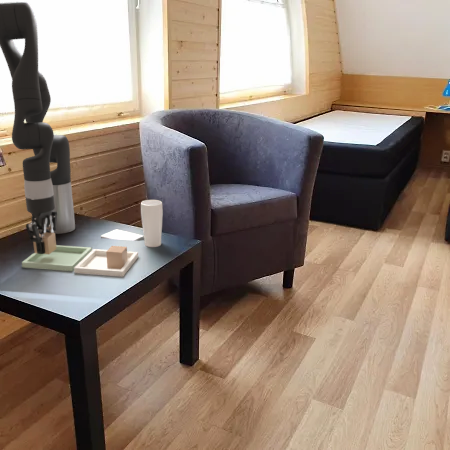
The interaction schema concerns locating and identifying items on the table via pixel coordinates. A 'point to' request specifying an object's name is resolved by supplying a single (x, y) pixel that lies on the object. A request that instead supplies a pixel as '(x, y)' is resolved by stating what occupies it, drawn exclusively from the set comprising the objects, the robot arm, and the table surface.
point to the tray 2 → (103, 264)
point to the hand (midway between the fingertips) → (45, 249)
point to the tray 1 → (58, 258)
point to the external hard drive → (122, 235)
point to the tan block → (116, 257)
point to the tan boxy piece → (47, 243)
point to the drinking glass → (152, 222)
